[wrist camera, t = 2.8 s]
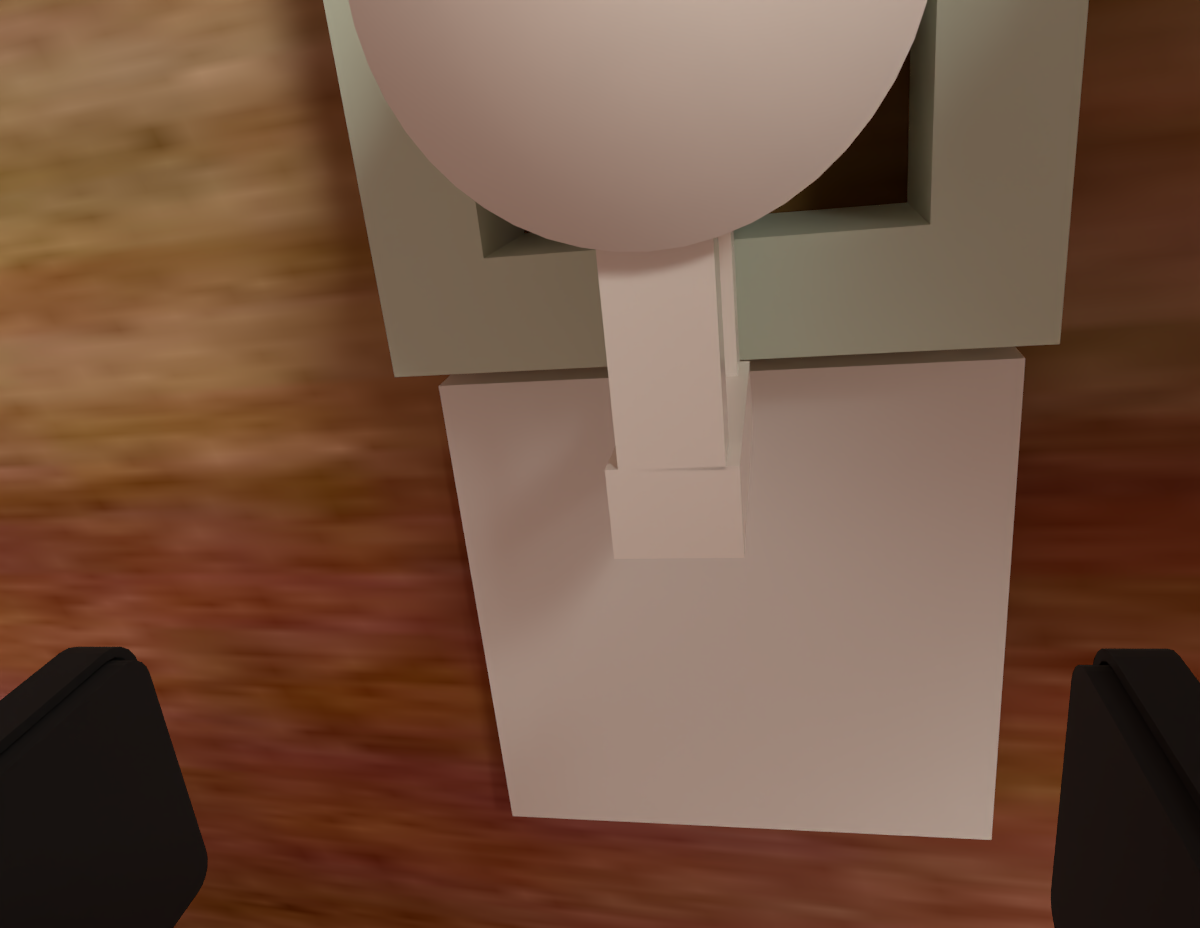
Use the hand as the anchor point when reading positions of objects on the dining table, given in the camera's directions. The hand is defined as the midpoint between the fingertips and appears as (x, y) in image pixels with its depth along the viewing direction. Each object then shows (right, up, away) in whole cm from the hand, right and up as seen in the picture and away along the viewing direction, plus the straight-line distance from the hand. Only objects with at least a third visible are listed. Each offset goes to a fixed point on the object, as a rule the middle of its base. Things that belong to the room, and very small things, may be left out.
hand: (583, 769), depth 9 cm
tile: (+4, -1, +16) cm, 17 cm away
